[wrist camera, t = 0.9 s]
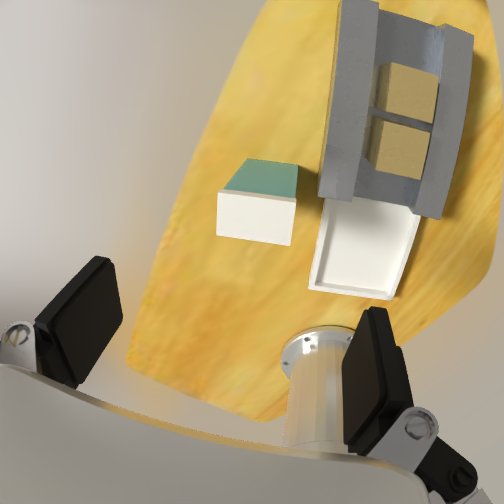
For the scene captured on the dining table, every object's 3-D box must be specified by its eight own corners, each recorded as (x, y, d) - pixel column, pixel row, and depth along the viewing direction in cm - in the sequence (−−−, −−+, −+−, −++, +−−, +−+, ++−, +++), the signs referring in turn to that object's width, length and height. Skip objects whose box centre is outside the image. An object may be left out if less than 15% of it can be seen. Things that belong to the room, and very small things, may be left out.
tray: (389, 292, 35) (391, 300, 34) (308, 281, 36) (308, 289, 35) (417, 207, 30) (422, 212, 28) (326, 189, 31) (326, 194, 29)
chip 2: (406, 167, 26) (420, 180, 23) (366, 158, 26) (375, 170, 23) (414, 126, 24) (430, 133, 21) (373, 116, 24) (384, 121, 21)
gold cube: (416, 118, 24) (432, 123, 20) (374, 107, 24) (385, 111, 21) (422, 76, 22) (439, 76, 18) (380, 65, 22) (392, 62, 19)
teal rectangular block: (295, 195, 31) (289, 245, 22) (243, 188, 32) (216, 235, 23) (299, 164, 30) (296, 203, 20) (246, 157, 30) (217, 192, 21)
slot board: (426, 204, 29) (440, 219, 26) (316, 183, 30) (317, 196, 27) (455, 39, 20) (473, 35, 17) (337, 6, 21) (342, -6, 18)
